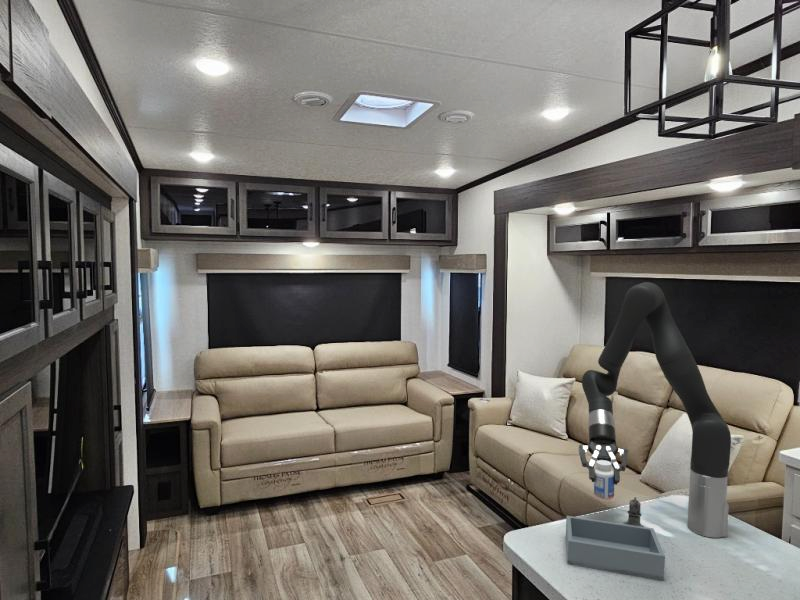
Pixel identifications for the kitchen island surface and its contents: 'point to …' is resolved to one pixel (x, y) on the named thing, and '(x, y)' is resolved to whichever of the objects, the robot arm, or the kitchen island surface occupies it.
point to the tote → (614, 547)
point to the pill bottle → (604, 480)
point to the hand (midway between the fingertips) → (604, 481)
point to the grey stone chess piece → (634, 513)
